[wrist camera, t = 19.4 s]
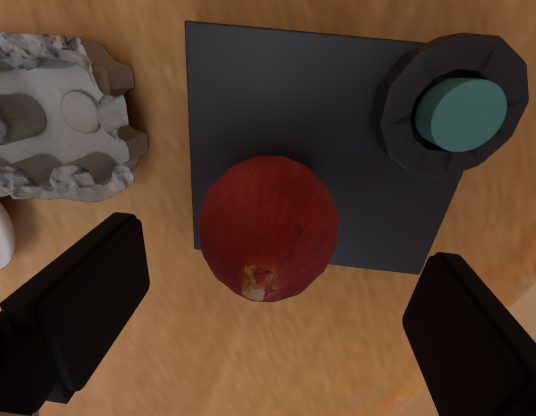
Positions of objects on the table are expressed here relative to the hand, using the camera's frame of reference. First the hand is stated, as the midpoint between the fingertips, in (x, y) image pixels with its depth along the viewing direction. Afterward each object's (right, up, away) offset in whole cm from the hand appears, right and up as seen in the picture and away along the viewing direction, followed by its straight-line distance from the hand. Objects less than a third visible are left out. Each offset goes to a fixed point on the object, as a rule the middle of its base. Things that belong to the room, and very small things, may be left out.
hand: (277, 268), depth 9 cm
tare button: (+7, +6, +2) cm, 10 cm away
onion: (0, +3, +6) cm, 7 cm away
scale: (+3, +5, +6) cm, 8 cm away
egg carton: (-12, +7, +7) cm, 16 cm away
